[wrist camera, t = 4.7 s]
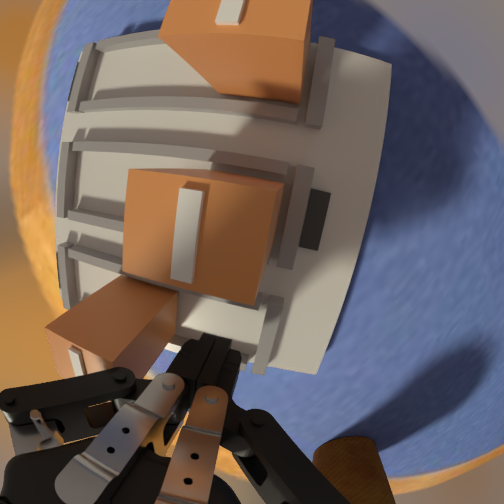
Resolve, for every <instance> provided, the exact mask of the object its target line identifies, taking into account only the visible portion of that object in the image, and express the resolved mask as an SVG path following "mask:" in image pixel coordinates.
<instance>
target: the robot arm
mask: <svg viewBox="0 0 504 504" xmlns="http://www.w3.org/2000/svg"><path fill="white" fill-rule="evenodd" d="M231 345H232V339H229V338H225V337H221V336H217V335H213V334H209V333H206V332H203V334H202V335H201V337H200V339H199V340H195V339H190V340H188V341H187V342H185V343H184V344H183V346H182V347H181V349H180V350H179V352H178V354H177V355H176V357H175V358H174V360H173V361H172V363H171V365H170V366H169V368H168V369H167V371H166V373H162V374H159V375H157V376H156V377H155V378H154V379H153V380H146V379H138V378H135V375H134V373H133V372H132V371H131V370H130V369H127V368H124V367H115V368H111V369H107V370H103V371H98V372H94V373H90V374H85V375H81V376H76V377H72V378H67V379H62V380H57V381H51V382H46V383H41V384H35V385H29V386H22V387H16V388H9V389H5V390H3V391H2V392H1V393H0V410H1V411H2V413H3V414H4V416H5V418H6V420H7V422H8V423H9V428H10V432H11V438H12V442H13V447H14V451H15V455H16V456H15V457H13V458H12V459H11V460H10V461H9V462H8V463H7V465H6V468H5V473H4V482H3V488H2V491H1V494H0V504H241V502H240V501H239V499H238V497H237V496H236V494H235V493H234V491H233V490H232V488H231V487H230V486H229V485H228V484H227V483H226V482H225V481H223V480H222V479H221V478H219V477H218V476H216V475H215V474H214V469H215V464H216V459H217V454H218V449H219V445H220V446H222V447H224V448H226V449H227V450H229V451H231V452H232V455H233V457H234V459H235V460H236V462H237V463H238V465H239V466H240V468H241V469H242V471H243V472H244V474H245V475H246V477H247V478H248V480H249V481H250V482H251V484H252V485H253V486H254V488H255V489H256V491H257V492H258V494H259V495H260V496H261V497H262V499H263V500H264V502H265V503H266V504H351V503H350V502H349V501H348V500H347V499H346V498H345V497H344V496H343V495H342V494H341V493H340V492H339V491H338V490H337V489H336V488H335V487H334V486H333V485H332V484H331V483H330V482H329V481H328V480H327V479H326V478H325V477H324V475H323V474H322V473H321V472H320V471H319V470H318V469H317V468H316V467H315V466H314V465H313V463H312V462H311V461H310V460H309V459H308V458H307V457H306V456H305V454H304V453H303V452H302V451H301V450H300V449H299V448H298V446H297V445H296V444H295V443H294V442H293V441H292V439H291V438H290V437H289V436H288V435H287V433H286V432H285V431H284V430H283V429H282V427H281V426H280V425H279V424H278V422H277V421H276V420H275V419H274V417H273V416H272V415H271V414H270V413H268V412H267V411H264V410H261V409H251V410H248V411H246V410H244V409H242V408H240V407H239V406H237V405H236V404H235V403H234V401H233V400H232V396H233V392H234V389H235V386H236V382H237V379H238V374H239V370H240V365H241V360H242V357H241V354H240V351H237V350H233V349H231ZM108 401H110V402H108ZM104 402H106V403H104ZM100 403H103V404H100ZM96 404H99V405H96ZM92 405H95V406H92ZM89 406H91V407H89ZM187 411H188V412H189V415H188V418H187V421H186V424H185V426H183V427H182V429H181V431H180V434H179V437H178V440H177V443H176V446H175V449H174V452H173V455H172V458H170V457H166V453H167V450H168V448H169V447H170V445H171V443H172V442H173V440H174V438H175V436H176V435H177V433H178V431H179V430H180V428H181V426H182V424H183V422H184V417H185V415H186V413H187ZM98 434H99V435H98ZM95 435H98V436H97V437H91V436H95ZM87 437H91V438H88V439H84V440H80V441H77V442H73V443H69V444H65V445H63V443H66V442H70V441H74V440H79V439H83V438H87Z"/></svg>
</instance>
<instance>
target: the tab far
mask: <svg viewBox="0 0 504 504" xmlns="http://www.w3.org/2000/svg"><path fill="white" fill-rule="evenodd" d="M177 301H178V291H176V290H172V289H169V288H165V287H162V286H158V285H155V284H151V283H148V282H144V281H141V280H137V279H134V278H131V277H128V276H124V275H120V276H119V277H117V278H116V279H114V280H113V281H111V282H109V283H108V284H106V285H105V286H103V287H102V288H100V289H99V290H97V291H96V292H94V293H93V294H91V295H90V296H88V297H87V298H86V299H84V300H83V301H81V302H80V303H78V304H77V305H75V306H74V307H72V308H71V309H70V310H68V311H67V312H65V313H64V314H62V315H61V316H60V317H58V318H57V319H55V320H54V321H53V322H51V323H50V324H48V325H47V326H46V327H45V330H46V334H47V338H48V342H49V346H50V349H51V353H52V356H53V360H54V363H55V366H56V369H57V372H58V374H59V375H60V376H61V377H63V378H65V379H67V378H72V377H76V376H81V375H85V374H90V373H94V372H98V371H103V370H107V369H111V368H115V367H124V368H127V369H130V370H131V371H132V372H133V373H134V375H135V378H138V379H143V378H144V376H145V375H146V374H147V372H148V371H149V369H150V368H151V367H152V365H153V364H154V362H155V361H156V360H157V358H158V357H159V355H160V354H161V353H162V351H163V350H164V348H165V347H166V346H167V344H168V343H169V341H170V340H171V339H172V337H173V336H174V335H175V333H176V318H177ZM108 402H110V401H108Z"/></svg>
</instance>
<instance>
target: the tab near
mask: <svg viewBox="0 0 504 504" xmlns="http://www.w3.org/2000/svg"><path fill="white" fill-rule="evenodd" d="M312 10H313V0H171V1H170V4H169V6H168V9H167V12H166V14H165V17H164V20H163V23H162V25H161V28H160V31H159V34H158V37H159V38H160V39H161V40H162V41H163V42H165V43H166V44H167V45H168V46H169V47H170V48H172V49H173V50H174V51H175V52H176V53H177V54H178V55H179V56H180V57H182V58H183V59H184V60H185V61H186V62H187V63H188V64H189V65H190V66H191V67H192V68H193V69H195V70H196V71H197V72H198V73H199V74H200V75H201V76H202V77H203V78H204V79H205V80H206V81H207V82H208V83H209V84H210V85H211V86H212V87H213V88H214V89H215V90H216V91H217V92H218V93H219V94H220V95H232V96H242V97H250V98H258V99H266V100H272V101H279V102H285V103H290V104H296V105H300V101H301V95H302V89H303V83H304V77H305V72H306V66H307V60H308V53H309V43H310V33H311V22H312Z"/></svg>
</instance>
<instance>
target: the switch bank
mask: <svg viewBox="0 0 504 504" xmlns="http://www.w3.org/2000/svg"><path fill="white" fill-rule="evenodd" d="M159 31H160V29H159V30H151V31H144V32H138V33H132V34H127V35H122V36H117V37H112V38H108V39H104V40H100V41H98V42H97V44H96V43H94V42H92V43H89V44H85V47H84V50H83V51H82V52H81V55H80V58H79V61H78V63H77V67H76V70H75V74H74V77H73V81H72V85H71V89H70V93H69V97H68V103H67V108H66V113H65V118H64V123H63V129H62V136H61V143H60V150H59V159H58V170H57V183H56V208H55V227H56V256H57V269H58V279H59V288H60V294H61V298H62V300H63V306H64V308H65V309H67V310H70V309H71V308H72V307H74V306H75V305H77V304H78V303H80V302H81V301H83V300H84V299H86V298H87V297H88V296H90V295H91V294H93V293H94V292H96V291H97V290H99V289H100V288H102V287H103V286H105V285H106V284H108V283H109V282H111V281H113V280H114V279H116V278H117V277H119V276H120V275H124V276H128V277H131V278H134V279H137V280H141V281H144V282H148V283H151V284H155V285H158V286H162V287H165V288H169V289H172V290H176V291H178V301H177V318H176V333H175V335H174V336H173V337H172V339H171V340H170V341H169V343H168V344H167V346H166V347H165V348H164V349H167V350H170V351H173V352H176V353H178V352H179V350H180V349H181V347H182V346H183V344H184V343H185V342H187V341H188V340H190V339H195V340H199V339H200V337H201V335H202V334H203V332H206V333H209V334H213V335H217V336H221V337H225V338H229V339H232V345H231V349H233V350H237V351H240V354H241V357H242V360H241V365H240V370H241V371H245V369H246V365H247V362H252V363H254V364H253V368H252V372H251V373H255V374H259V375H265V371H266V368H267V366H270V367H275V368H280V369H286V370H291V371H297V372H303V373H309V374H315V375H316V373H317V371H318V368H319V366H320V363H321V361H322V359H323V356H324V354H325V351H326V349H327V346H328V343H329V341H330V338H331V336H332V333H333V330H334V328H335V325H336V322H337V319H338V317H339V314H340V311H341V308H342V305H343V302H344V299H345V296H346V293H347V290H348V287H349V284H350V281H351V277H352V274H353V271H354V268H355V264H356V261H357V257H358V254H359V250H360V247H361V243H362V239H363V235H364V232H365V228H366V224H367V220H368V216H369V212H370V207H371V203H372V198H373V194H374V189H375V184H376V180H377V175H378V169H379V164H380V159H381V153H382V147H383V141H384V134H385V127H386V120H387V112H388V103H389V94H390V83H391V70H392V64H390V63H387V62H384V61H381V60H378V59H375V58H372V57H369V56H365V55H362V54H358V53H355V52H351V51H347V50H343V49H339V48H335V47H334V46H335V39H333V38H328V37H324V36H319V41H318V44H317V43H311V34H310V43H309V53H308V60H307V66H306V72H305V77H304V83H303V89H302V95H301V101H300V105H296V104H290V103H285V102H279V101H272V100H266V99H258V98H250V97H242V96H232V95H220V94H219V93H218V92H217V91H216V90H215V89H214V88H213V87H212V86H211V85H210V84H209V83H208V82H207V81H206V80H205V79H204V78H203V77H202V76H201V75H200V74H199V73H198V72H197V71H196V70H195V69H193V68H192V67H191V66H190V65H189V64H188V63H187V62H186V61H185V60H184V59H183V58H182V57H180V56H179V55H178V54H177V53H176V52H175V51H174V50H173V49H172V48H170V47H169V46H168V45H167V44H166V43H165V42H163V41H162V40H161V39H160V38H159V37H158V34H159ZM145 168H179V169H208V170H215V171H222V172H228V173H234V174H240V175H246V176H251V177H257V178H262V179H268V180H273V181H278V182H283V183H285V187H284V192H283V197H282V202H281V207H280V212H279V217H278V222H277V227H276V232H275V237H274V242H273V245H272V248H271V252H270V255H269V258H268V261H267V265H266V268H265V271H264V274H263V278H262V281H261V284H260V287H259V291H258V294H257V297H256V300H255V303H254V306H252V305H248V304H243V303H239V302H235V301H231V300H227V299H222V298H218V297H214V296H210V295H206V294H202V293H198V292H195V291H191V290H187V289H183V288H179V287H176V286H172V285H168V284H165V283H161V282H157V281H154V280H150V279H147V278H143V277H140V276H137V275H133V274H130V273H126V272H123V271H122V265H123V229H124V212H125V199H126V189H127V179H128V171H129V169H145Z"/></svg>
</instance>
